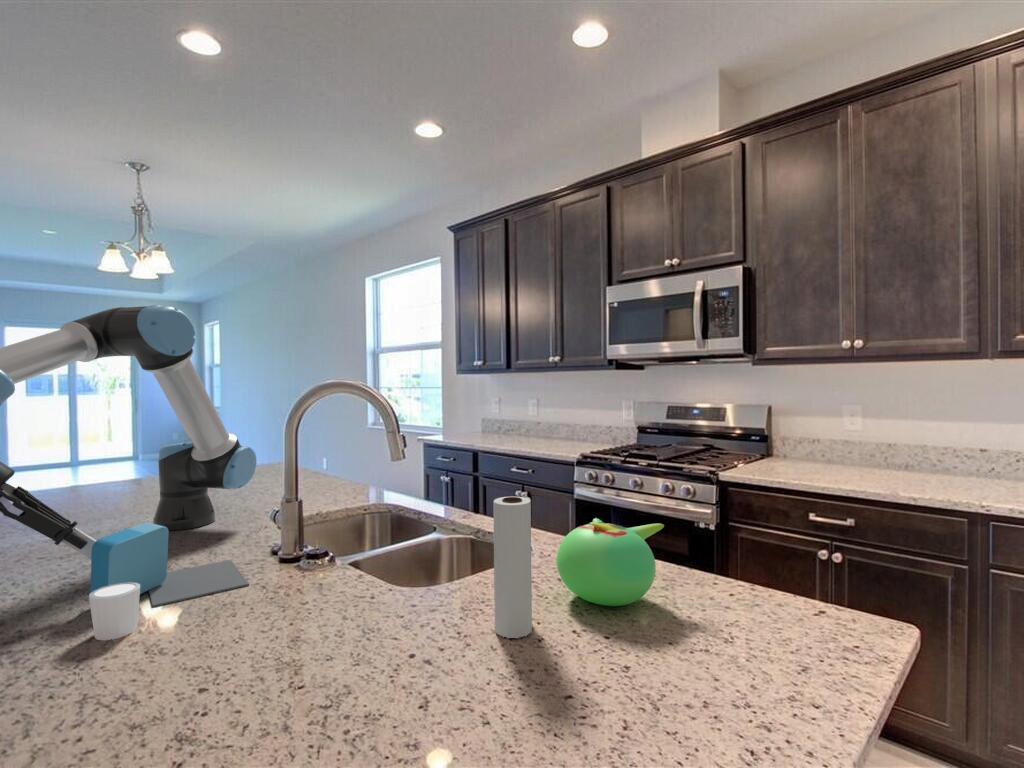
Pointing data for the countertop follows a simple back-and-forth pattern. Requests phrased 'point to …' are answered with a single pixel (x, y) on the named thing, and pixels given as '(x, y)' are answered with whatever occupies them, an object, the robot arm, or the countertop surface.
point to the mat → (197, 582)
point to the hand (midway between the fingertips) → (100, 554)
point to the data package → (131, 557)
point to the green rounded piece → (608, 562)
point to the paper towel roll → (512, 566)
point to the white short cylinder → (115, 610)
